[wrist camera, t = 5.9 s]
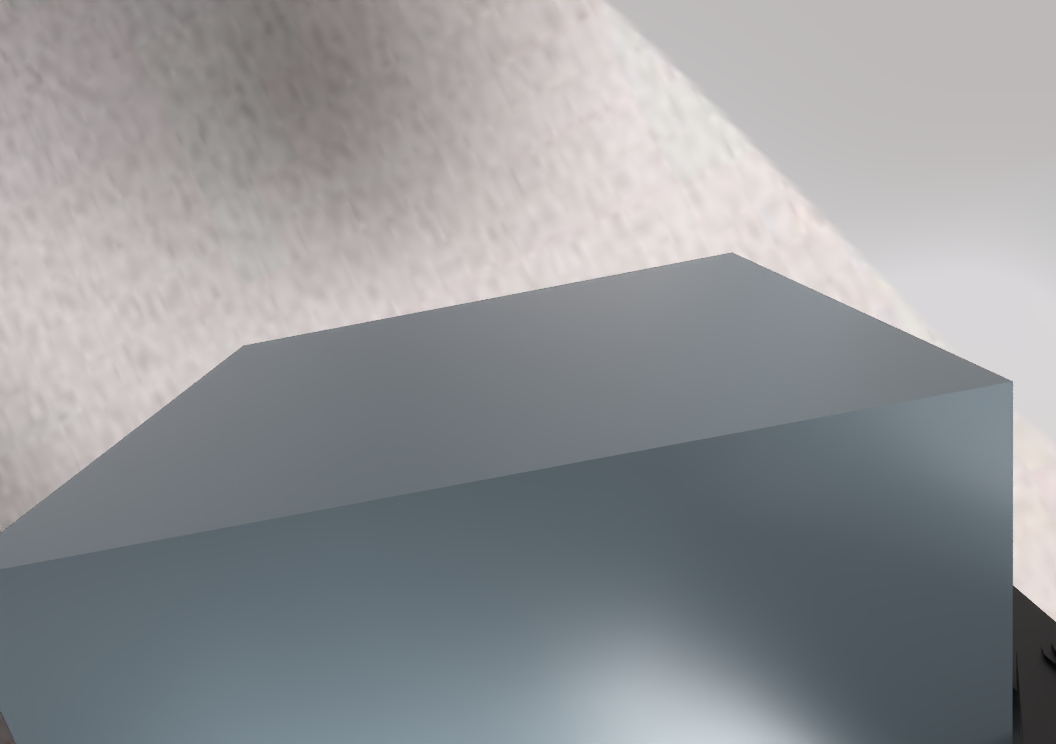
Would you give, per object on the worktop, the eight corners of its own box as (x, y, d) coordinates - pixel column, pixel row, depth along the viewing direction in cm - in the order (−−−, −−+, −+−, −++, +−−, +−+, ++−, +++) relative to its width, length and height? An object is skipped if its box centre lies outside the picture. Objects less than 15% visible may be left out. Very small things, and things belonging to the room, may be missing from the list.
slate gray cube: (364, 741, 18) (249, 1239, 10) (243, 345, 16) (-63, 580, 7) (776, 667, 18) (1012, 1113, 10) (732, 252, 15) (1013, 380, 7)
